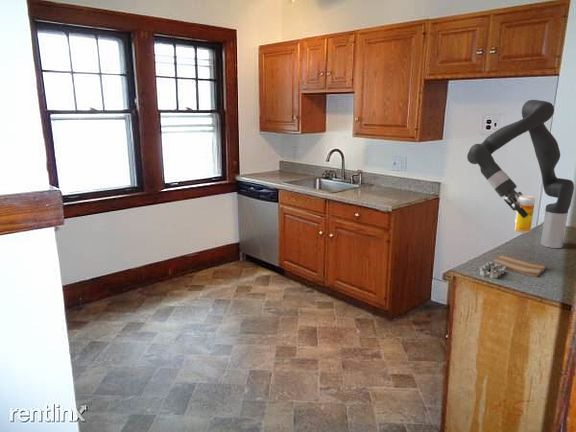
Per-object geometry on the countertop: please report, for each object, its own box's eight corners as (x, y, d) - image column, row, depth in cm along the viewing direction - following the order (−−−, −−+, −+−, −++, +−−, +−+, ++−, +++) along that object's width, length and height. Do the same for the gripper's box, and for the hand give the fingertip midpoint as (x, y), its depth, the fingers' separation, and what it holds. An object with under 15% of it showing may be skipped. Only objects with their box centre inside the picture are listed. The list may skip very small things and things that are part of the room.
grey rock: (494, 280, 164) (495, 270, 163) (476, 274, 169) (477, 265, 168) (506, 273, 170) (508, 264, 169) (488, 268, 176) (489, 259, 175)
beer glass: (532, 233, 168) (537, 198, 164) (516, 233, 169) (521, 197, 166) (527, 229, 174) (532, 195, 170) (511, 228, 175) (516, 194, 171)
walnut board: (501, 258, 186) (501, 255, 186) (546, 268, 174) (546, 265, 173) (490, 265, 178) (490, 262, 177) (536, 277, 165) (536, 273, 165)
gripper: (502, 180, 167) (531, 213, 161) (515, 175, 176) (542, 207, 171) (487, 191, 172) (514, 223, 166) (500, 186, 181) (526, 217, 176)
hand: (528, 215), depth 169 cm, fingers closed on beer glass, 6 cm apart
